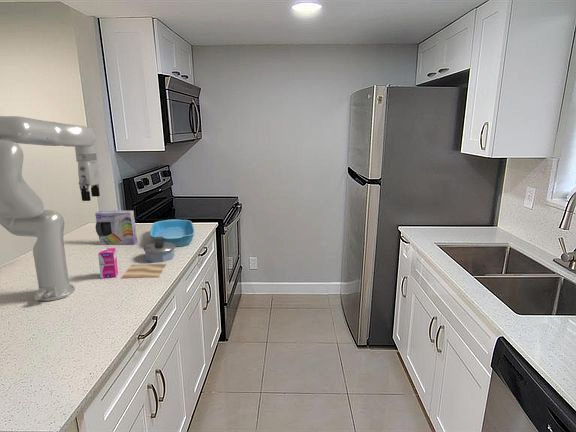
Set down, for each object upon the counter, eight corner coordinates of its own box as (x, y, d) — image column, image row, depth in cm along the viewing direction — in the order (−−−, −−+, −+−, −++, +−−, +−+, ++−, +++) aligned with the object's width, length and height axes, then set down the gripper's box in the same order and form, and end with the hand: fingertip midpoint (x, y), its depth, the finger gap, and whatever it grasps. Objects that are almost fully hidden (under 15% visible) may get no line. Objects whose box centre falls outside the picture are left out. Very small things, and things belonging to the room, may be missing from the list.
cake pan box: (97, 245, 190) (93, 212, 186) (101, 242, 195) (97, 209, 191) (134, 245, 191) (131, 212, 186) (138, 242, 196) (135, 210, 191)
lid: (172, 253, 165) (171, 242, 164) (139, 253, 164) (138, 242, 163) (177, 243, 179) (177, 233, 178) (148, 243, 177) (147, 233, 176)
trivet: (158, 278, 150) (158, 277, 150) (120, 279, 149) (120, 278, 149) (166, 264, 165) (166, 263, 165) (131, 265, 163) (131, 264, 163)
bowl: (171, 262, 168) (170, 252, 166) (143, 263, 166) (142, 252, 165) (175, 253, 179) (175, 244, 178) (150, 254, 178) (149, 244, 177)
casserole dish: (196, 248, 188) (196, 235, 186) (150, 252, 181) (149, 238, 180) (192, 229, 222) (191, 217, 220) (153, 232, 215) (152, 220, 214)
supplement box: (100, 279, 148) (97, 253, 145) (103, 274, 154) (100, 248, 151) (116, 278, 150) (113, 252, 147) (118, 273, 155) (115, 247, 152)
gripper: (87, 159, 144) (92, 202, 148) (103, 156, 161) (107, 194, 165) (67, 159, 143) (72, 202, 147) (85, 156, 160) (90, 194, 164)
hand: (91, 198), depth 156 cm, fingers open, 9 cm apart
